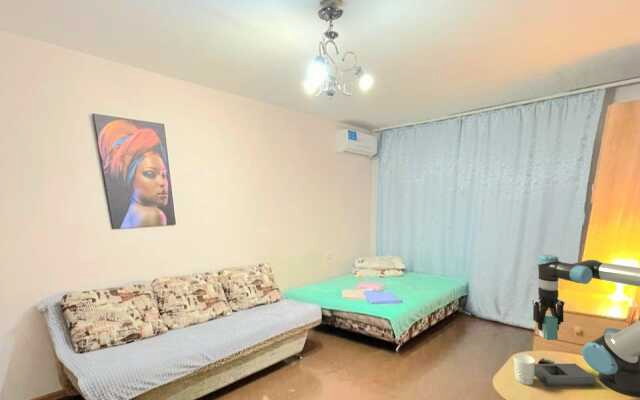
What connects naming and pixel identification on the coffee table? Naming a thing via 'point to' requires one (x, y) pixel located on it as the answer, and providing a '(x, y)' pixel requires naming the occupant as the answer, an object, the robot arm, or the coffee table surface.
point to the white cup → (524, 368)
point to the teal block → (551, 327)
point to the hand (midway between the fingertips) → (548, 336)
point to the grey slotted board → (563, 375)
